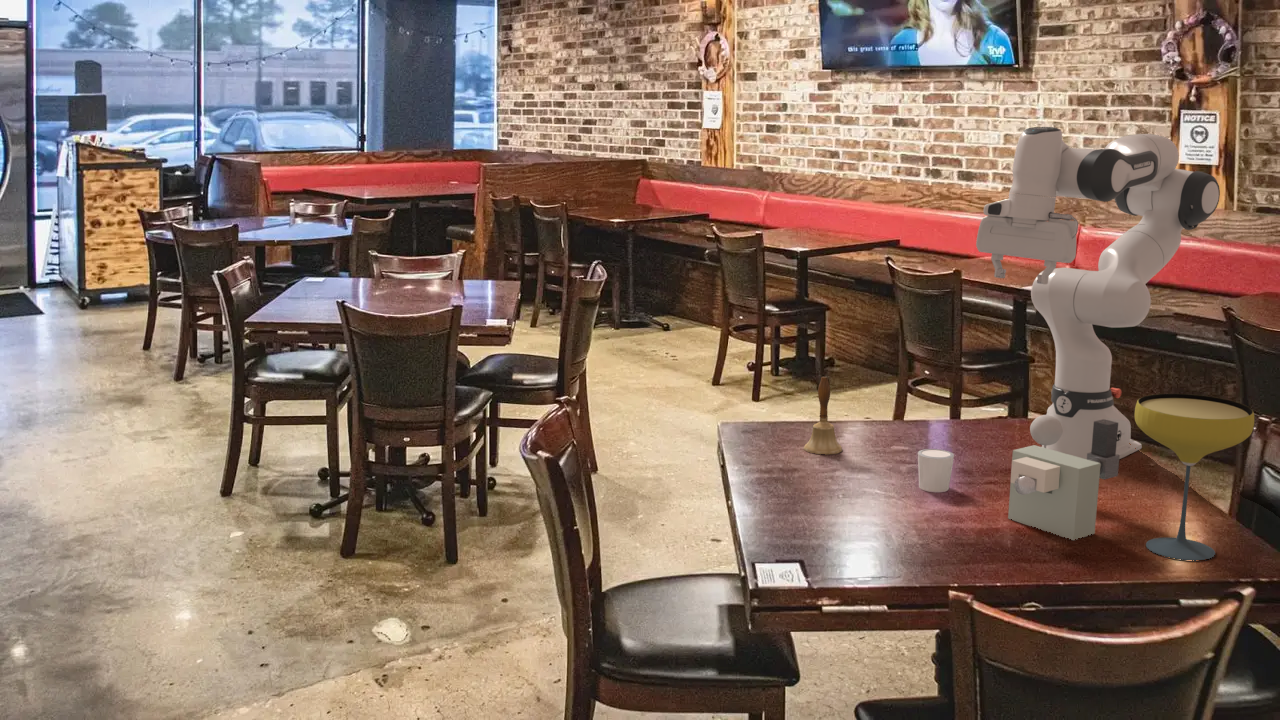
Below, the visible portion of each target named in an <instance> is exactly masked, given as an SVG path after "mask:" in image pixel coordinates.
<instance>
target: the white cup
mask: <svg viewBox="0 0 1280 720" xmlns="http://www.w3.org/2000/svg"><path fill="white" fill-rule="evenodd" d="M954 459H955V454H954V453H953V452H951V451H950V450H949V451H948V450H944V449H940V448H939V449H937V448H925V449H922V450H921V449H920V450H919V451H917V465H918V466H917V469H918V488H919V489H920V490H923V491H925V492H929V493H946V492H947V491H949V490H950V483H951V477H952V471H953V464H954Z"/></svg>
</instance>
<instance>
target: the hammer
mask: <svg viewBox="0 0 1280 720" xmlns="http://www.w3.org/2000/svg"><path fill="white" fill-rule="evenodd" d="M1117 432H1118V422H1114V421H1110V420H1105V419H1102V420H1098V421H1094V426H1093V438H1092V450H1091V452H1090V453H1087V460H1091V461H1094V462H1098V463H1101V464H1100V476H1099V479H1102V480H1107V479H1110V478H1114V477H1119V469H1120V468H1119V465H1120V459H1119V456H1120V455H1119V454H1116V444H1117ZM1036 485H1037V479H1035V478H1031V477H1028V476H1024V477H1020V478H1017V479H1016V481H1015V484H1014V486H1015V489H1016V491H1017V492H1018V493H1019V494H1021V495H1025V494H1029V493H1032V492H1036V491H1037V490H1036Z"/></svg>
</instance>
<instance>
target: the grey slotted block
mask: <svg viewBox="0 0 1280 720" xmlns="http://www.w3.org/2000/svg"><path fill="white" fill-rule="evenodd" d="M1011 456H1012V457H1011V458H1012V459H1011V461H1012V460H1016V459H1020V458H1024V457H1029V458H1032V459H1036V460H1040V461H1043V462H1047V463H1050V464H1054V465H1057V466H1060V476H1059V489H1056V490H1052V491H1048V492H1045V493H1043V492H1040V491H1036V492H1032V493H1029V494H1025V495H1021V494H1019V493H1018V492H1017V491H1016V489H1015V486H1014V483H1010V485H1009V487H1010V488H1009V498H1008V501H1009V502H1008V514H1007V515H1008V516H1007V519H1009V520H1011V519H1012V521H1014V522H1016V523H1020V524H1023V525H1026V526H1028V527H1031V526H1032V527H1031V528H1034V527H1036V528H1035V529H1037V528H1038V530H1040V529H1041V530H1042V531H1043V532H1046V531H1047V533H1049V532H1051V533H1050V534H1052V533H1053V534H1052V535H1055V534H1056V536H1058V535H1059V537H1062V538H1064V537H1065V539H1067V538H1069V539H1068V540H1070V539H1071V541H1076V540H1079V539H1078V538H1080V539H1081V538H1082V537H1083V538H1086V537H1088V535H1089V536H1092V535H1095V533H1096V522H1097V521H1096V520H1097V511H1098V509H1097V507H1098V496H1099V486H1100V478H1099V476H1100V464H1101V463H1098V462H1094V461H1091V460H1087V459H1083V458H1080V457H1076V456H1072V455H1069V454H1065V453H1061V452H1058V451H1054V450H1050V449H1047V448H1043V447H1042V446H1038V445H1035V444H1033V445H1028V446H1025V447H1021V448H1020V447H1019V448H1017V449H1013V450H1012V455H1011ZM1091 534H1092V535H1091ZM1083 538H1082V539H1083ZM1075 539H1076V540H1075Z"/></svg>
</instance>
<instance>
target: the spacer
mask: <svg viewBox="0 0 1280 720" xmlns="http://www.w3.org/2000/svg"><path fill="white" fill-rule="evenodd" d="M1024 476H1028V477H1031V478H1035V479H1037V485H1036V490H1037V491H1040V492H1043V493H1045V492H1048V491H1052V490H1056V489H1059V476H1060V466H1057V465H1054V464H1050V463H1047V462H1043V461H1040V460H1036V459H1032V458H1029V457H1024V458H1020V459H1016V460H1012V459H1011V471H1010V483H1014V484H1015V481H1016V479H1017V478H1020V477H1024Z"/></svg>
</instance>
